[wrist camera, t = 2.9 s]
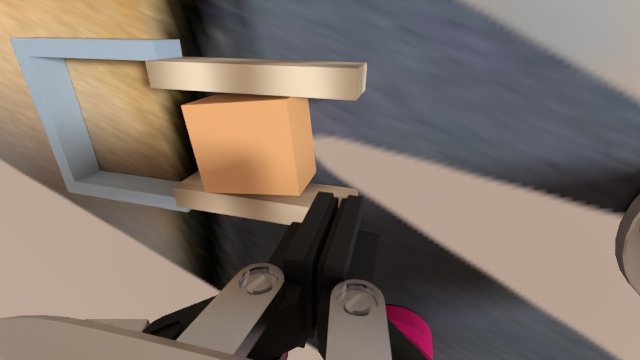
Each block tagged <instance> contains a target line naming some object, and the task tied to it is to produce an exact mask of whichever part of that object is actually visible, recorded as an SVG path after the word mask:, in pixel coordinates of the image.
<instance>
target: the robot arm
mask: <svg viewBox="0 0 640 360" xmlns="http://www.w3.org/2000/svg"><path fill="white" fill-rule="evenodd" d="M338 203H339V199H338V197H334V194H333V193H330V192H321V191H319V192H318V193H317V195H316V197H315V199H314V201H313V202H312V204H311V206H310V208H309V210H308V212H307V214H306V216H305V217H304V219H303V221H302V223H300V222H292V223H291V224H290V226H289V228H288V229H287V231H286V233H285V235H284V236H283V238H282V240H281V241H280V243H279V245H278V246H277V248H276V250H275V252H274V253H273V255H272V257H271V258H270V260H269V262H268V263H257V264H253V265H249V266H247V267H245V268H243V269H242V270H241V271H240V272H238V273H237V274H236V276H235V277H234V278H233V279H232V280H231V281H230V282H229V283H228V284H227V285H226V286H225V287H224V289H223V290H222V291H221V292H220V293H219V294H218V295H216V296H214V297H211V298H209V299H206V300H204V301H201V302H199V303H196V304H193V305H191V306H189V307H186V308H183V309H181V310H178V311H176V312H173V313H171V314H168V315H165V316H163V317H161V318H159V319H157V320H155V321H154V322H152V323H151V324H149V321H148V320H124V319H123V320H122V319H121V320H119V319H115V320H114V319H111V320H109V319H107V320H105V319H103V320H101V319H97V320H95V319H94V320H93V319H91V320H90V319H86V320H81V319H75V318H69V317H59V316H47V315H42V316H16V317H8V318H1V319H0V360H287V357H288V351H290V350H292V349H294V348H296V347H302V348H304V347H305V343H306V340H307V337H309V338H313V337H314V334H315V330H316V327H317V339H318V351H319V353H320V354H321V356H322V358H323V359H324V360H428V359H427V358H426V357H425V356H424V355H423V354H422V353H421V352H420V350H419V349H418V348H417V347H416V346H415V345H414V344H413V343H412V342H411V341H410V340H409V339H408V338H407V337H406V336H405V335H404V334H403V333H402V332H401V331H400V330H399V329H398V328H397V327H396V326H395V325H394V323H393V322H392V321H391V320H390V319H389V318H388V317H387V315H386V307H385V300H384V297H383V294H382V293H381V291H380V290H379V289H378V288H377V287H376V286H374V279H375V271H376V262H377V253H378V244H379V235H380V234H377V233H370V232H363V231H361V223H362V209H363V196H355V195H348V197H347V198H342V200H341V203H340V205H339V208H338ZM615 251H616V252H615V253H616V254H615V255H616V258H617V262H618V265H619V268H620V271H621V272H622V274H623V275H624V277H625V278H626V280H627V281H628V283H629V284H630V285H631V286H632V287H633V289H634V290H635V291H636V292H637V293H638V294H639V295H640V194H639V195H638V197H637V198H636V199H635V200H634V201H633V202H632V203H631V205H630V206H629V208H628V210H627V212H626V213H625V215H624V217H623V218H622V220H621V222H620V225H619V229H618V232H617V236H616V249H615Z"/></svg>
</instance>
